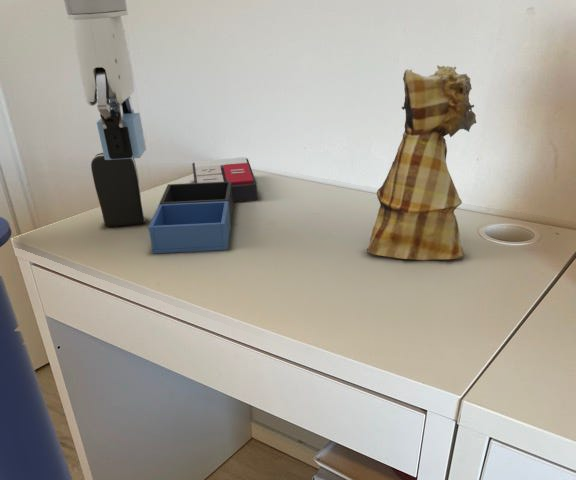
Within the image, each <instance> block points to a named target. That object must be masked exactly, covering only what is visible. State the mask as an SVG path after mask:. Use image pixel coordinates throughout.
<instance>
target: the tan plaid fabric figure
mask: <svg viewBox="0 0 576 480" xmlns="http://www.w3.org/2000/svg"><path fill="white" fill-rule="evenodd" d="M436 68H437V70H435V72H434V73H433V74H430V75H428V76H427V75H426V76H424V75H421V74H419V73H416V72H413V69H409V68H408V69H405V70H404V73H403V77H402V81H403V85H404V87H403V88H404V102H403V106H401V109H402V111H403V110H404V111H405V120H404V132H403V133H402V139H401V141H400V143H399V145H398V148H397V151H396V154H395V157H394V160H393V161H392V163H391V166H390V168H389V170H388V173H387V175H386V178H385V180H384V181H383V183H382V185H381V186H380V187H379V188H378V189H377V191H376V197H377V199H378V202H379V204H380V206H379V208H378V213H377V216H376V220H375V223H374V225H373V228H372V233H371V236H370V239H369V245H368V248H366V253H367V254H372V255H375V256H383V257H389V258H396V259H404V260H417V261H428V260H454V259H455V260H456V259H459V258H462V257H463V256H465V251H464V249H463V248H462V243H461V242H462V241H461V233H460V229H459V223H458V220H457V216H456V215H455V212H454V211H455V210H457V208H458V207H459V206H461V205H462V204H463V202H462V198H460V196H459V193H458V190H457V188H456V186H455V183H454V180H453V179H452V176H451V174H450V172H449V169H448V168H449V167H448V164H447V153H448V147H447V142H446V138H445V137H446V136H449V137H450V138H452V137H453V136H454V135H455V134H456V133H458V132H459V130H464V131H467V132H468V133H470V130H471V128H472V127H473V125H474V124H477V119H476V117H477V116H476V114H475V112H474V111H473V109H472V108H475V104H471V103H470V97H469V96H470V92H471V90H472V89H473V88H472V84H471V77H470V76H468V74H467V73H457V72H456V69H457V67H456V66H454V67H453V66H448V65H446V66H445V65H442V66H439V65H438V64H437V65H436Z"/></svg>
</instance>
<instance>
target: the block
mask: <svg viewBox="0 0 576 480" xmlns="http://www.w3.org/2000/svg"><path fill="white" fill-rule="evenodd" d="M123 117H124V125H125V127H128V133H129V138H130V143H131V148H132V153H133V156H132V157H131V158H124V159H133V158H134V159H140V158H141V157H142V156H143V154H144V153H145V152H146V150H147V146H146V141H145V136H144V130H143V125H142V124H143V123H142V120H141V114H140V112H134V113H128V114H123ZM96 126H97V131H98V135H99V140H100V144H101V149H102V153H103V154H104V158H105V160H115V159H111V158H110V157H109V153H108V149H107V144H106V139H105V135H104V130H103V126H102V120H101V118H100V119H98V120H97V122H96Z"/></svg>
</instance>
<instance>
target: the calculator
mask: <svg viewBox="0 0 576 480" xmlns="http://www.w3.org/2000/svg"><path fill="white" fill-rule="evenodd" d="M191 165H192V173H193V181H194V182H193V183H207V182H227V181H232V191H233V202H234V203H239V202H249V201H257V200H258V199H259V198H258V186H257V185H258V184H257V181H256V178H255V175H254V172H253V169H252V167H251V164H250V161H249V159H248V158H247V157H245V156H240V157H229V158H219V159H218V158H217V159H207V160H195V161H194V162H192V164H191Z"/></svg>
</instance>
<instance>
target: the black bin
mask: <svg viewBox="0 0 576 480" xmlns="http://www.w3.org/2000/svg"><path fill="white" fill-rule="evenodd" d="M219 201H228V202H229V213H230V223H231V224H232V220H233V219H232V218H233V212H234V204H235V202H233V191H232V181H227V182H207V183H194V182H188V183H170V184H169V183H168V184H167V186H166V188H165V190H164V192H163V194H162V196H161V199H160V201H159V203H158V205H159V204H162V205H163V204H178V203H199V202H219Z"/></svg>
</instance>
